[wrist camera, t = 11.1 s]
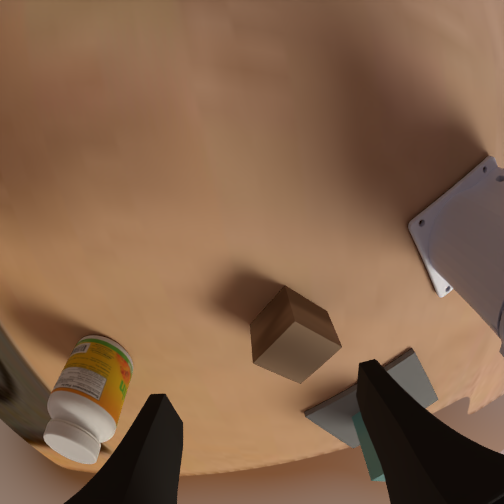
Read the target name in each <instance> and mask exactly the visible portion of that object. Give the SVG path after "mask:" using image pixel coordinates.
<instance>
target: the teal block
mask: <svg viewBox="0 0 504 504" xmlns="http://www.w3.org/2000/svg"><path fill="white" fill-rule="evenodd" d="M352 420H353V423H354V426H355V429H356V432H357V436H358V439H359V442H360V445H361V448H362V452H363V454H364V458H365V461H366V464H367V468H368V471H369V474H370V477H371V480H372V481H385V477H384V473H383V470H382V467H381V464H380V461H379V459H378V456H377V454H376V451H375V449H374V446H373V444H372V441H371V439H370V437H369V434H368V432H367V429H366V427H365V424H364V422H363V419H362V416H361V412H360V411H359V412H358V413H357V414H355V415H354V416H352Z"/></svg>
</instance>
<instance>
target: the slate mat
mask: <svg viewBox="0 0 504 504" xmlns="http://www.w3.org/2000/svg"><path fill="white" fill-rule="evenodd" d="M384 369H385V370H386V371H387V372H388V373H389V374H390V376H391V377H392V378H393V379H394V380H395V381H396V382H397V383H398V384H399V385H400V386H401V387H402V388H403V389H404V390H405V391H406V392H407V393H408V394H410V395H411V396H412V397H413V398H414V399H415V400H416V401H417V402H418V403H419V404H420V405H422V406H423V407H424V408H427V407H428V406H430V405H431V404H433V403H434V402H436V401H437V400H438V398H437V395H436V393H435V391H434V389H433V387H432V385H431V383H430V381H429V379H428V377H427V375H426V373H425V371H424V369H423V367H422V365H421V363H420V361H419V359H418V357H417V356H416V354H415V352H414V350H413V349H411V350H409V351H408V352H406V353H405V354H403V355H402V356H400V357H399V358H397V359H396V360H394V361H393V362H391V363H390V364H388V365H387V366H385V367H384ZM356 391H357V384H356V385H354V386H352V387H350V388H349V389H347V390H345V391H343V392H342V393H340V394H338V395H336V396H334V397H332V398H331V399H329V400H327V401H325V402H323V403H321V404H319V405H317V406H315V407H313V408H311V409H309V410H307V411H305V412H304V413H305V417H306V418H308V419H309V420H311V421H312V422H314V423H315V424H317V425H318V426H320V427H321V428H323V429H324V430H326V431H327V432H329V433H330V434H332V435H333V436H335V437H336V438H338V439H339V440H341V441H342V442H344V443H346V444H347V445H349V446H350V447H352V448H355V447H357V446H359V445H360V442H359V439H358V436H357V432H356V429H355V426H354V423H353V420H352V416H354V415H355V414H357V413H358V412H359V411H360V409H359V405H358V402H357V398H356Z"/></svg>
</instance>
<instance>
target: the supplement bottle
mask: <svg viewBox="0 0 504 504" xmlns="http://www.w3.org/2000/svg"><path fill="white" fill-rule="evenodd" d="M132 373H133V362H132V359H131V357H130V356H129V354H128V353H127V351H126V350H125V349H124V348H123V347H122V346H121V345H119V344H118V343H116V342H115V341H113V340H111V339H109V338H106V337H103V336H98V335H90V336H86V337H83V338H82V339H80V340H79V342H78V343H77V345H76V346H75V348H74V350H73V351H72V353H71V355H70V357H69V359H68V361H67V363H66V365H65V367H64V369H63V371H62V373H61V375H60V377H59V379H58V381H57V383H56V385H55V387H54V388H53V391H52V393H51V395H50V397H49V400H48V412H49V414H50V416H51V418H52V419H51V420H50V421H49V423H48V424H47V427H46V430H45V432H44V436H43V437H44V440H45V442H46V443H47V444H48V445H49V446H50V447H51V448H52V449H53V450H55V451H56V452H57V453H59V454H61V455H62V456H64V457H66V458H68V459H70V460H73V461H76V462H79V463H83V464H93V463H95V462H96V461H97V458H98V455H99V451H100V447H101V444H100V442H105V441H108V440H109V439H111V438H112V437H113V435H114V433H115V430H116V427H117V423H118V420H119V416H120V413H121V409H122V406H123V402H124V399H125V396H126V392H127V389H128V386H129V383H130V380H131V376H132Z"/></svg>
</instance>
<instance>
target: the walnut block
mask: <svg viewBox="0 0 504 504" xmlns="http://www.w3.org/2000/svg"><path fill="white" fill-rule="evenodd" d="M250 331H251V344H252V357H253V363H254V364H256V365H258V366H260V367H262V368H265V369H267V370H269V371H271V372H274V373H276V374H278V375H281V376H283V377H285V378H288V379H290V380H292V381H295V382H297V383H300V384H301V383H302V382H303V381H305V380H306V379H307V378H308V377H309V376H310V375H312V374H313V373H314V372H315V371H316V370H317V369H318V368H320V367H321V366H322V365H323V364H324V363H325V362H326V361H327V360H329V359H330V358H331V357H332V356H333V355H334V354H335V353H336V352H337V351H338V350H339V349H340V348H342V346H341V343H340V341H339V338H338V336H337V334H336V331H335V329H334V326H333V324H332V322H331V319H330V317H329V315H328V312H327V311H326V310H324V309H322V308H321V307H319V306H318V305H316V304H314V303H313V302H311V301H309V300H308V299H306V298H305V297H303V296H301V295H300V294H298V293H296V292H295V291H293V290H292V289H290V288H288V287H287V286H284V287H283V288H282V290H281V291H280V292H279V293H278V294H277V295H276V296H275V298H274V299H273V300H272V301H271V302H270V303H269V304H268V305H267V307H266V308H265V309H264V310H263V311H262V312H261V313H260V314H259V315H258V316H257V318H256V319H255V320H254V321H253V322H252V323H251V324H250Z"/></svg>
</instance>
